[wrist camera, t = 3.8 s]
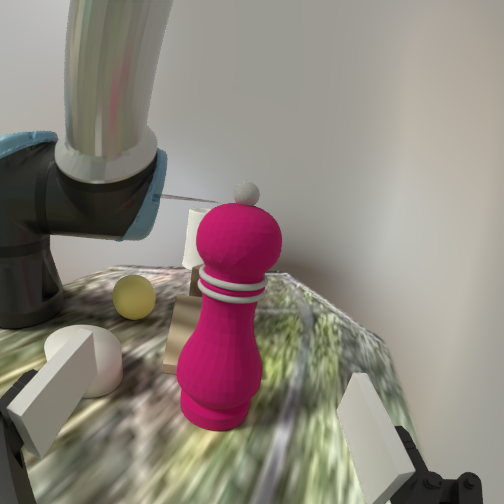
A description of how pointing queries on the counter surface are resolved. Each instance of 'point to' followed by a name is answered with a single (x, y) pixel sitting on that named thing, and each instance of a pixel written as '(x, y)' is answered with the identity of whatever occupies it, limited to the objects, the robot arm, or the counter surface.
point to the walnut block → (195, 281)
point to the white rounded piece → (104, 352)
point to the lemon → (134, 297)
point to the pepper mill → (228, 311)
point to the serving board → (181, 329)
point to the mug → (193, 238)
